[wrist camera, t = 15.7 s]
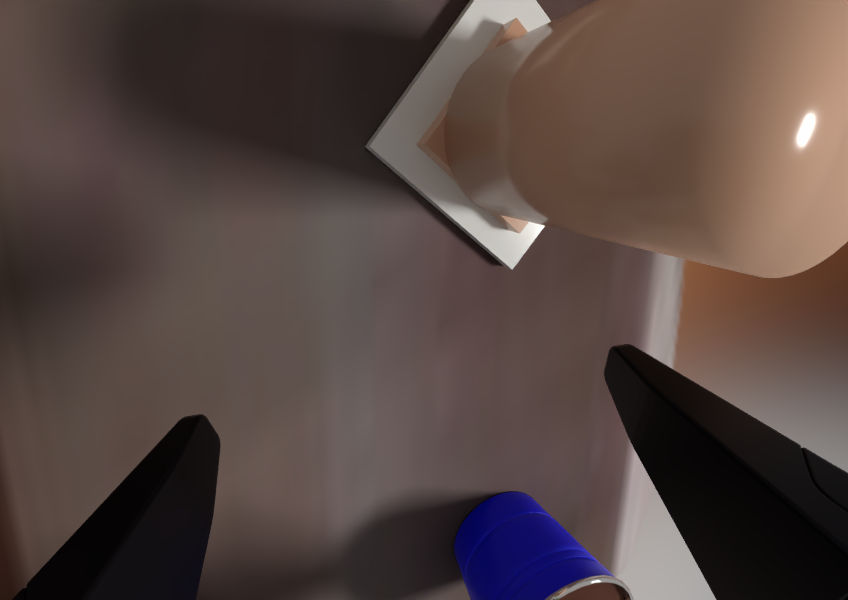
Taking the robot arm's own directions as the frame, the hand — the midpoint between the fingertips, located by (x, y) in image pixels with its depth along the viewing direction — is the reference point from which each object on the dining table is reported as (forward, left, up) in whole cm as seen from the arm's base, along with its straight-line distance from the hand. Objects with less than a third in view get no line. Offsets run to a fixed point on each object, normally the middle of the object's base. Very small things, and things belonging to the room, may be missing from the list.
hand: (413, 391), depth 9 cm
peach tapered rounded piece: (+9, +3, -10) cm, 14 cm away
